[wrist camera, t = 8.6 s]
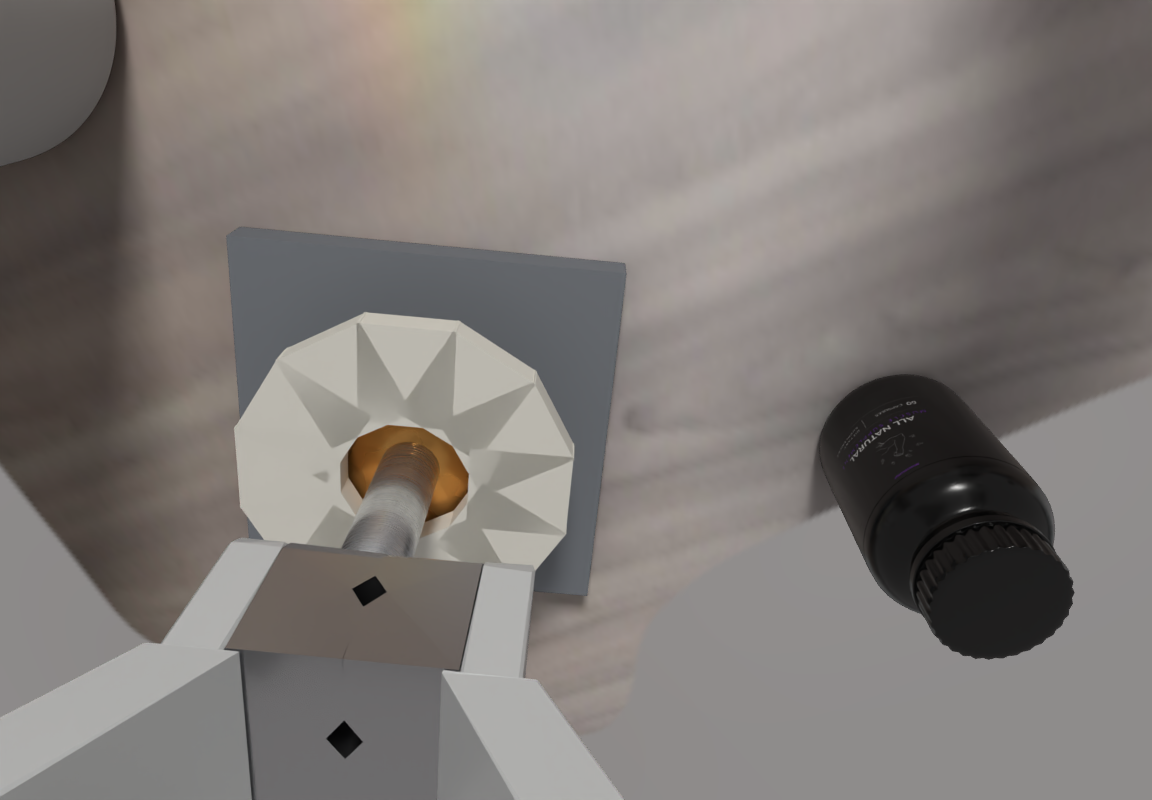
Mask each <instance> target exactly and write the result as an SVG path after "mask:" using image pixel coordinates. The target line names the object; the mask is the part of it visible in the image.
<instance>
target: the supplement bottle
mask: <svg viewBox="0 0 1152 800" xmlns="http://www.w3.org/2000/svg"><path fill="white" fill-rule="evenodd" d="M820 460H821V464H822V468H823V471H824V473H825V476H826V478H827V480H828V483H829V485H830V487H831V489H832V492H833V494H834V496H835V498H836V500H837V502H838V504H839V506H840V509H841V511H842V513H843V515H844V517H845V519H846V521H847V524H848V526H849V528H850V530H851V532H852V534H853V536H854V538H855V541H856V543H857V545H858V547H859V549H860V551H861V553H862V556H863V558H864V560H865V562H866V564H867V566H868V568H869V570H870V572H871V574H872V576H873V577H874V579H875V581H876V582H877V584H878V585H879V586H880V588H881V589H882V590H883V591H884V592H885V593H886V594H887V595H888V596H889V597H891V598H892V599H893V600H894V601H896V602H897V603H899V604H901V605H902V606H904V607H906V608H908V609H910V610H912V611H915V612H917V613H921V614H922V615H923V617H924V618H925V619H926V621H927V623H928V625H929V627H930V629H931V631H932V632H933V634H934V635H935V636H936V637H938V638H939V640H940V642H941V643H942V644H943V645H946V646H948V647H949V648H950V649H951V650H952V651H955V652H959V653H960V654H962V655H963V656H971V657H973V658H975V659H977V658H985V659H993V658H1005V657H1007V656H1013V655H1018V654H1019V653H1021V652H1023V651H1028V650H1030V649H1031V648H1033V647H1034V646H1036V645H1039V644H1042V643H1043V642H1044V640H1045V639H1046V638H1048V637H1050V636H1052V635H1053V634H1054V633H1055V631H1056V629H1058V628H1059V627H1061V625H1062V624H1063V620H1064V619H1065V618H1066V617H1067V616H1068V615H1069V609H1070V607H1071V606H1072V604H1073V603H1072V597H1073V595H1074V591H1073V588H1072V585H1073V580H1072V578H1071V577H1070V576H1069V570H1068V569H1067V567H1066V566H1065V564H1064V563H1063V562H1062V561H1061V559H1060V558H1059V556H1058V555H1057V554H1056V552H1055V550H1054V548H1053V543H1054V535H1055V524H1054V517H1053V512H1052V509H1051V506H1050V504H1049V502H1048V499H1047V497H1046V496H1045V494H1044V493H1043V491H1042V490H1041V488H1040V487H1039V486H1038V484H1037V483H1036V482H1035V481H1034V480H1033V479H1032V477H1031V476H1029V474H1028V473H1027V472H1026V471H1025V470H1024V468H1023V467H1022V466H1021V465H1020V464H1019V463H1018V462H1017V460H1015V458H1014V457H1013V456H1012V455H1011V454H1010V453H1009V451H1008V450H1007V449H1006V448H1005V447H1004V446H1003V445H1002V444H1001V442H1000V441H999V440H998V439H997V438H996V437H995V436H994V435H993V433H992V432H991V431H990V430H989V429H988V428H987V427H986V426H985V424H984V423H983V422H982V421H981V420H980V419H979V418H978V417H977V416H976V414H975V413H974V412H973V411H972V410H971V409H970V408H969V407H968V405H967V404H966V403H965V402H964V401H963V400H962V399H961V398H960V397H959V396H958V395H957V394H956V393H955V392H954V391H952V390H951V389H950V388H948V387H947V386H945V385H944V384H942V383H940V382H938V381H936V380H933V379H930V378H927V377H923V376H919V375H908V374H901V375H892V376H886V377H882V378H879V379H875V380H873V381H870V382H868V383H866V384H864V385H862V386H860V387H858V388H857V389H855V390H853V391H852V392H851V393H849V394H848V395H847V396H846V397H845V398H844V399H842V400H841V401H840V403H839V404H838V405H837V406H836V407H835V408H834V410H833V411H832V412H831V414H830V416H829V417H828V419H827V421H826V423H825V425H824V428H823V431H822V435H821V440H820Z"/></svg>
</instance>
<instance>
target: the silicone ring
mask: <svg viewBox="0 0 1152 800" xmlns="http://www.w3.org/2000/svg"><path fill="white" fill-rule="evenodd" d="M386 425H395V426H406V427H418V428H424V429H425V430H427V431H429V432H430V433H432V434H434V435H435V436H437V437H438V438H440V439H442V440H443V441H445V442H447V443H448V444H450V445H452V446H453V448H454V449H455V451H456V453H457V455H458V456H459V458H460V460H461V461H462V463H463V465H464V467H465V468H466V470H467V472H468V473H469V480H468V493H467V494H466V495H465V497H464V498H463V499H462V500H461V502H460V503H459V504H458V506H457V507H456V508H455V510H454V511H452V512H449V513H447V514H444V515H442V516H439V517H437V518H434V519H432V520H429V521H427V522H424V526H423V529H422V532H421V535H420V538H419V542H418V545H417V548H416V551H415V555H414V557H416V558H427V559H439V560H450V561H461V562H473V563H483V564H485V563H486V562H492V563H507V564H523V565H533V567H534V569H535V571H536V569H537V568H538V567H539V566H540V565H541V563H542V562H543V561H544V560H545V559H546V557H547V556H548V555H549V554H550V553H551V551H552V550H553V549H554V548H555V547H556V546H557V544H558V543H559V542H560V541H561V540H562V538H563V537H564V536H565V535H566V530H567V516H568V507H569V497H570V488H571V478H572V469H573V460H574V447H575V446H574V443H573V442H572V440H571V438H570V436H569V434H568V432H567V430H566V428H565V426H564V424H563V422H562V420H561V418H560V416H559V415H558V413H557V411H556V409H555V407H554V405H553V403H552V401H551V399H550V397H549V395H548V393H547V391H546V389H545V387H544V385H543V384H542V382H541V380H540V378H539V376H538V374H537V371H536V370H534V369H532V368H531V367H529V366H528V365H526V364H525V363H523V362H521V361H520V360H518V359H517V358H515V357H514V356H512V355H511V354H509V353H508V352H506V351H505V350H503V349H502V348H500V347H498V346H497V345H495V344H494V343H492V342H491V341H489V340H488V339H486V338H485V337H483V336H482V335H480V334H478V333H477V332H475V331H474V330H472V329H471V328H469V327H468V326H466V325H465V324H463V323H462V322H461V321H459V320H457V321H455V320H444V319H433V318H422V317H412V316H401V315H390V314H379V313H368V312H364V313H363V314H361V315H359V316H357V317H354V318H352V319H350V320H348V321H346V322H343V323H341V324H339V325H337V326H335V327H332V328H330V329H328V330H326V331H324V332H321V333H319V334H317V335H315V336H313V337H310V338H308V339H306V340H304V341H302V342H299V343H297V344H295V345H293V346H291V347H287V348H286V349H285V350H284V351H283V352H282V353H281V354H280V356H279V357H278V358H277V359H276V360H275V363H274V365H273V366H272V368H271V370H270V371H269V373H268V375H267V376H266V378H265V380H264V381H263V383H262V384H261V386H260V388H259V389H258V391H257V393H256V394H255V396H254V398H253V399H252V401H251V402H250V404H249V406H248V407H247V409H246V411H245V412H244V414H243V416H242V417H241V419H240V421H239V422H238V424H237V425H236V426H235V427H234V431H235V444H236V457H237V470H238V482H239V495H240V508H242V510H243V511H244V513H245V514H246V515H247V517H248V518H249V520H250V521H251V522H252V524H253V525H254V527H255V528H256V529H257V531H258V532H259V534H260V535H261V536H262V538H263V539H264V540H269V541H279V542H285V543H288V544H289V543H298V544H307V545H315V546H324V547H332V548H341V547H342V545H343V543H344V541H345V539H346V536H347V534H348V532H349V530H350V527H351V525H352V523H353V521H354V519H355V516H356V514H357V512H358V510H359V507H360V505H361V503H362V501H363V499H362V498H361V496H360V495H359V493H358V492H357V490H356V489H355V487H354V485H353V484H352V482H351V481H350V479H349V478H348V450H349V449H350V447H351V446H352V444H353V443H354V442H355V440H356V439H357V438H358V437H360V436H362V435H365V434H367V433H369V432H372V431H374V430H376V429H379V428H381V427H384V426H386Z"/></svg>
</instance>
